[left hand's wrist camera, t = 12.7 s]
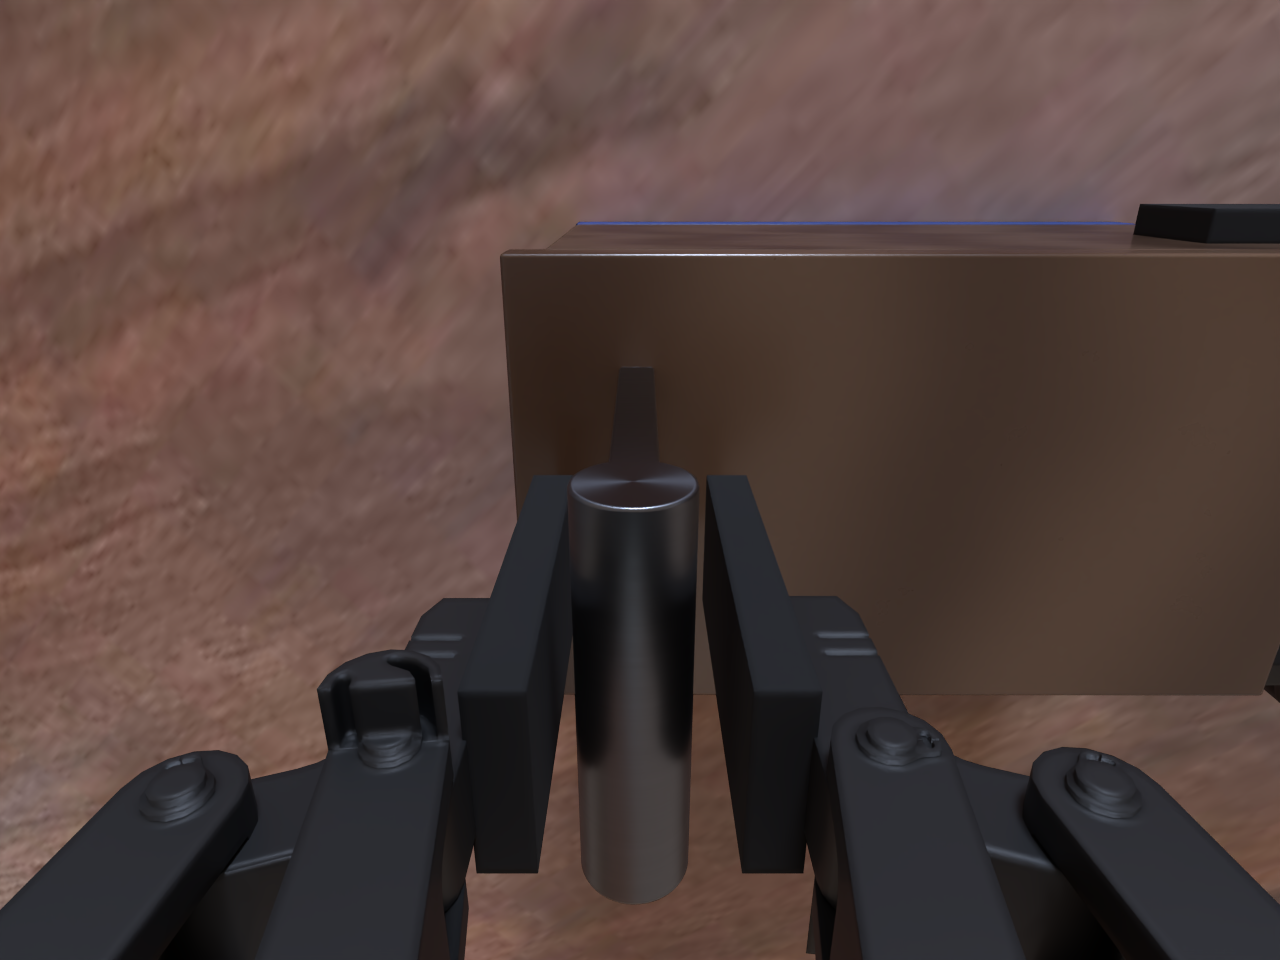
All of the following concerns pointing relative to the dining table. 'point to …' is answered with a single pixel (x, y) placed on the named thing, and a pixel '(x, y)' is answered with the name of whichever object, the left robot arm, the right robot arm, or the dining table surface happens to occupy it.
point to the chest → (872, 236)
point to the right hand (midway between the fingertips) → (1116, 445)
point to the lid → (898, 478)
